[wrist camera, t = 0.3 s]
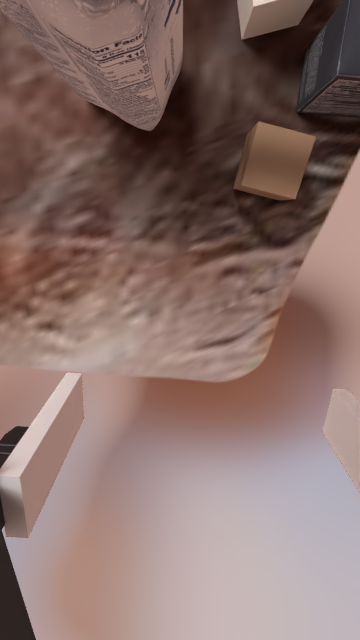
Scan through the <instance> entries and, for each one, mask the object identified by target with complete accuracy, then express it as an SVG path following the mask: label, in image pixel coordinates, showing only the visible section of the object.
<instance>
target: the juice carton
mask: <svg viewBox="0 0 360 640" xmlns="http://www.w3.org/2000/svg"><path fill="white" fill-rule="evenodd" d="M0 10H1V11H2V12H3V13H4V14H5V16H6V17H7V18H8V19H9V20H10V21H11V22H12V23H13V24H14V25H15V26H16V28H17V29H18V30H19V31H20V32H21V33H22V34H23V35H24V36H25V37H26V39H27V40H28V41H29V42H30V43H31V44H32V45H33V46H34V47H35V48H36V49H37V51H38V52H39V53H40V54H41V55H42V56H43V57H44V58H45V59H46V60H47V61H48V63H49V64H50V65H51V66H52V67H53V68H54V69H55V70H56V71H57V72H58V73H59V75H60V76H61V77H62V78H63V79H64V80H65V81H66V82H67V83H68V84H69V85H70V87H71V88H72V89H73V90H74V91H75V92H76V93H77V94H78V95H79V96H80V97H82V98H83V99H85V100H87V101H89V102H91V103H93V104H95V105H97V106H99V107H102V108H104V109H106V110H108V111H110V112H112V113H113V114H115V115H117V116H118V117H120V118H121V119H123V120H124V121H126V122H128V123H129V124H131V125H133V126H135V127H137V128H140V129H143V130H147V131H151V130H153V129H154V128H155V127H156V125H157V124H158V122H159V121H160V119H161V117H162V115H163V112H164V110H165V107H166V104H167V101H168V98H169V95H170V93H171V90H172V88H173V86H174V84H175V82H176V80H177V77H178V75H179V73H180V70H181V67H182V62H183V0H0Z"/></svg>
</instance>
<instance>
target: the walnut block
mask: <svg viewBox="0 0 360 640" xmlns="http://www.w3.org/2000/svg"><path fill="white" fill-rule="evenodd" d="M315 138H316V137H315V136H312V135H308V134H304V133H300V132H297V131H293V130H289V129H286V128H282V127H278V126H274V125H271V124H267V123H263V122H260V121H259V122H258V123H257V124H256V125H255V126H254V127H253V128H252V130H251V131H250V132H249V133H248V134H247V137H246V141H245V145H244V149H243V152H242V156H241V160H240V164H239V167H238V171H237V175H236V179H235V182H234V186H233V189H236V190H240V191H244V192H248V193H252V194H256V195H259V196H263V197H267V198H271V199H275V200H279V201H280V200H291V199H296V196H297V193H298V190H299V187H300V184H301V181H302V178H303V175H304V172H305V169H306V166H307V163H308V160H309V157H310V154H311V151H312V148H313V145H314V142H315Z"/></svg>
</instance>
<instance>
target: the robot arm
mask: <svg viewBox="0 0 360 640" xmlns="http://www.w3.org/2000/svg"><path fill="white" fill-rule="evenodd" d="M82 390H83V389H82V374H78V373H66V375H65V376H64V378H63V379H62V381H61V382H60V384H59V385H58V386H57V388H56V389H55V391H54V392H53V394H52V395H51V397H50V398H49V400H48V401H47V402H46V404H45V405H44V407H43V408H42V409H41V411H40V412H39V414H38V415H37V417H36V418H35V420H34V421H33V422H32V424H31V425H30V427H20V426H17V427H15V428H13V429H12V430H11V431H9V432H8V433H6V434H5V435H4V436H3V438H2V439H1V440H0V640H36V638H35V635H34V632H33V629H32V626H31V623H30V619H29V616H28V613H27V610H26V607H25V604H24V600H23V597H22V594H21V591H20V588H19V584H18V581H17V578H16V575H15V572H14V568H13V565H12V562H11V559H10V556H9V552H8V549H7V546H6V543H5V540H4V536H3V533H2V528H3V527H4V526H5V532H6V537H22V538H28V537H29V535H30V533H31V531H32V529H33V527H34V524H35V522H36V520H37V518H38V516H39V514H40V512H41V509H42V507H43V505H44V503H45V501H46V498H47V497H48V494H49V492H50V490H51V488H52V486H53V483H54V481H55V479H56V477H57V475H58V473H59V471H60V468H61V466H62V464H63V462H64V460H65V458H66V456H67V453H68V451H69V449H70V447H71V445H72V443H73V441H74V438H75V436H76V434H77V432H78V430H79V428H80V426H81V423H82V421H83V419H84V411H83V391H82ZM322 432H323V434H324V436H325V437H326V439H327V440H328V442H329V444H330V445H331V447H332V448H333V450H334V452H335V453H336V455H337V456H338V458H339V460H340V461H341V463H342V464H343V466H344V468H345V469H346V471H347V472H348V474H349V476H350V477H351V479H352V481H353V482H354V484H355V486H356V487H357V489H358V490H359V492H360V402H359V401H358V400H357V399H356V398H355V397H354V396H353V394H351V392H350V391H349V390H348V389H333V392H332V396H331V400H330V403H329V407H328V412H327V415H326V419H325V423H324V427H323V430H322Z"/></svg>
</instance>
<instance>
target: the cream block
mask: <svg viewBox="0 0 360 640" xmlns="http://www.w3.org/2000/svg"><path fill="white" fill-rule="evenodd" d="M313 1H314V0H237V4H238V13H239V21H240V30H241V38H242V40H243V39H247V38H250V37H254V36H258V35H262V34H266V33H270V32H273V31H277V30H281V29H285V28H289V27H293V26H296V25H298V24H299V23H300V21H301V20H302V18H303V16H304V15H305V13H306V12H307V10H308V9H309V7H310V5H311V4H312V2H313Z"/></svg>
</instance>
